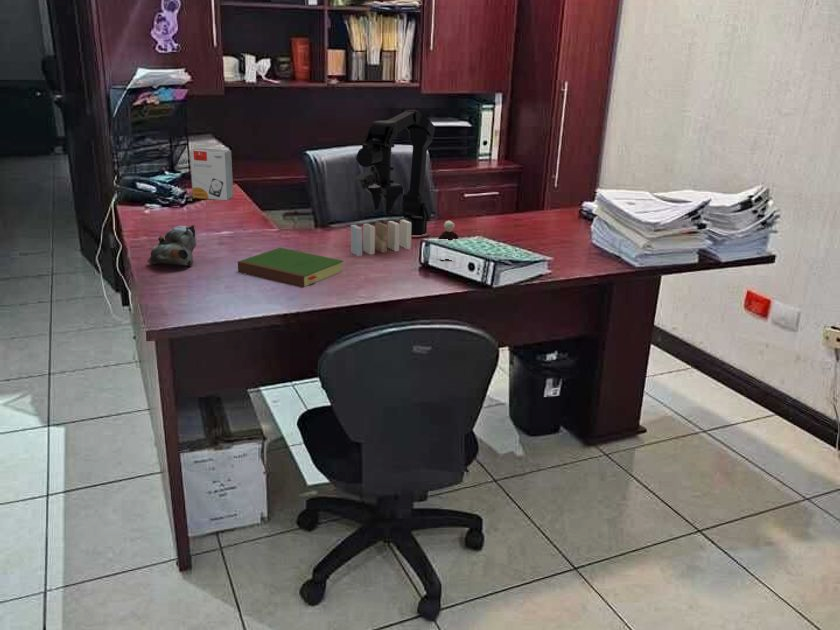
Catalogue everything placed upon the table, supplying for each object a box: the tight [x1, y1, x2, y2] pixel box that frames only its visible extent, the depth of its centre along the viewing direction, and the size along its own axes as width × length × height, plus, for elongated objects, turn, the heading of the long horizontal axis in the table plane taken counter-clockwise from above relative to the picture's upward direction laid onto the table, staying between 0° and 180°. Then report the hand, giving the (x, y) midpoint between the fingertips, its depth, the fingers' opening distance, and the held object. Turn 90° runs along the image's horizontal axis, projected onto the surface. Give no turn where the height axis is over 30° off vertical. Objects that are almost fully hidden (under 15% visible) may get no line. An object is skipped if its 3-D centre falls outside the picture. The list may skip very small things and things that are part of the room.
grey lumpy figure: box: [146, 224, 197, 268], centre depth 220 cm, size 15×12×14 cm
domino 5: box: [399, 219, 412, 250], centre depth 245 cm, size 2×5×9 cm, turn 30°
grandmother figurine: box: [437, 220, 460, 241], centre depth 232 cm, size 8×4×13 cm, turn 118°
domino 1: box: [350, 224, 363, 257], centre depth 236 cm, size 2×5×9 cm, turn 30°
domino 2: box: [362, 223, 376, 255], centre depth 238 cm, size 2×5×9 cm, turn 30°
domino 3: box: [375, 221, 388, 254], centre depth 240 cm, size 2×5×9 cm, turn 30°
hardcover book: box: [237, 247, 344, 288], centre depth 218 cm, size 25×19×4 cm
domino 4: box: [387, 220, 400, 252], centre depth 243 cm, size 2×5×9 cm, turn 31°
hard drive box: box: [189, 147, 234, 201], centre depth 307 cm, size 16×8×20 cm, turn 81°
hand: (381, 211), depth 237 cm, fingers open, 7 cm apart
